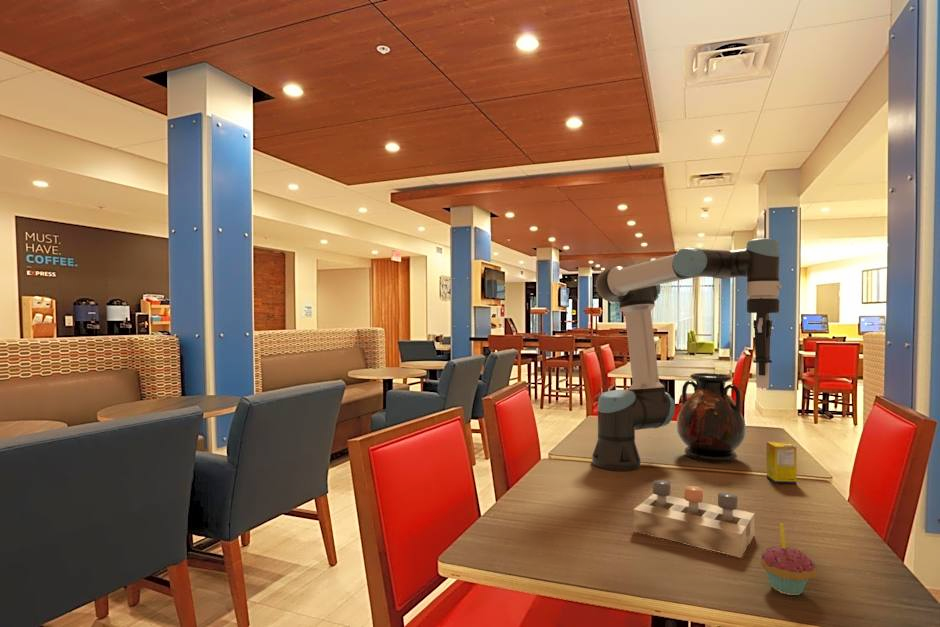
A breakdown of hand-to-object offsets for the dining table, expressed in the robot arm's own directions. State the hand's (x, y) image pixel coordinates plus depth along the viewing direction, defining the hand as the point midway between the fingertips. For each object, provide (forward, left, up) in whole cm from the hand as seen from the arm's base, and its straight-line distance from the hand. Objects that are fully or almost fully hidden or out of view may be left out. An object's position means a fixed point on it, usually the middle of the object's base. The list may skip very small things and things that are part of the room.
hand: (762, 387), depth 143 cm
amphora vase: (-21, +36, -30) cm, 51 cm away
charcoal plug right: (-1, -34, -25) cm, 42 cm away
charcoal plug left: (-15, -34, -25) cm, 45 cm away
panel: (-8, -34, -30) cm, 46 cm away
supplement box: (+2, +21, -30) cm, 36 cm away
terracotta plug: (-8, -34, -25) cm, 43 cm away
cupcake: (+12, -49, -30) cm, 59 cm away
